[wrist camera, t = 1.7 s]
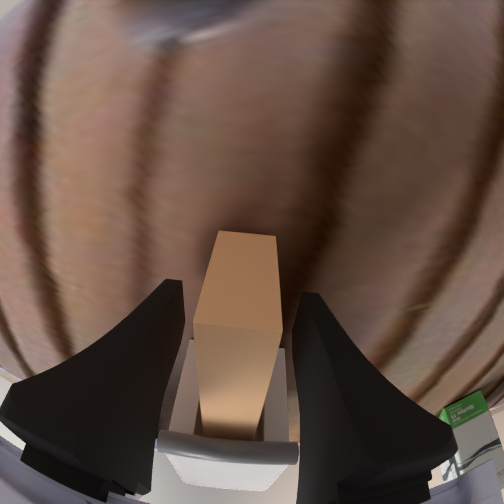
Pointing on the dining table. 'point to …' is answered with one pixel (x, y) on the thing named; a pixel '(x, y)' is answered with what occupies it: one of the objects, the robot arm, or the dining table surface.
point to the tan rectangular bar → (237, 333)
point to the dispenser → (229, 450)
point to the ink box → (472, 437)
